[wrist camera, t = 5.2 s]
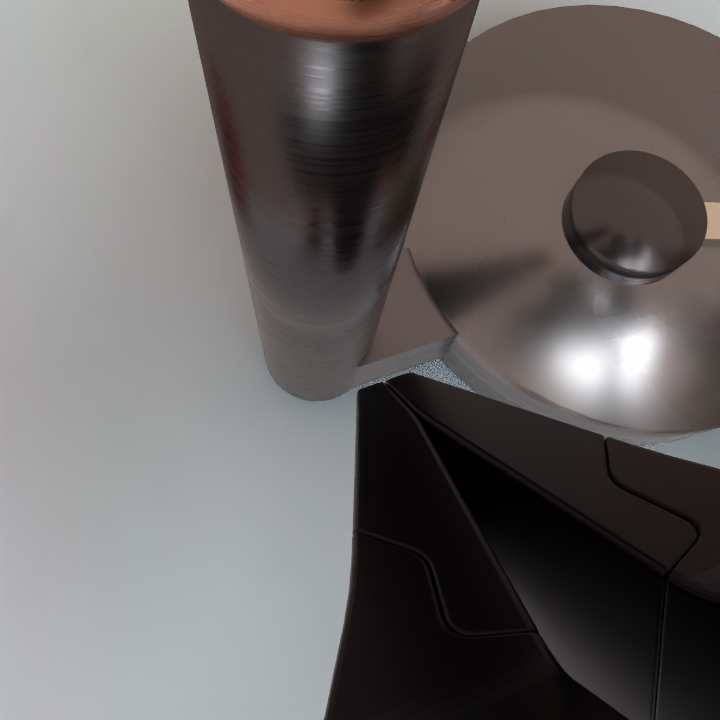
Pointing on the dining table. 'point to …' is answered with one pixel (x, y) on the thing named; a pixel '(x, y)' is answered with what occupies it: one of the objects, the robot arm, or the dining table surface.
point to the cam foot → (478, 201)
